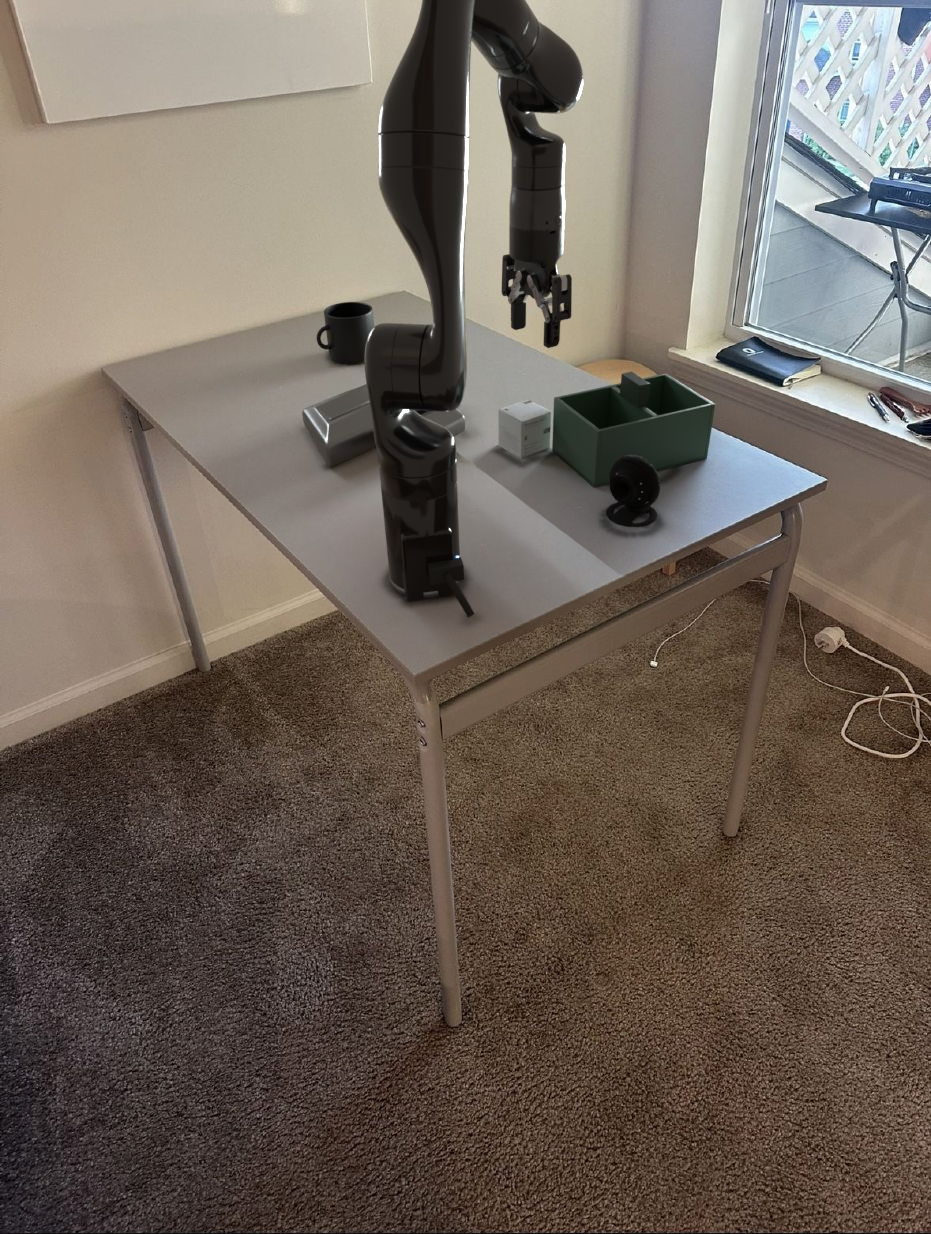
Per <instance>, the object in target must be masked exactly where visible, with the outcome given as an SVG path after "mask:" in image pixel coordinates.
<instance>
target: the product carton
mask: <svg viewBox="0 0 931 1234" xmlns="http://www.w3.org/2000/svg"><path fill="white" fill-rule="evenodd" d="M497 412H498V415H497V417H498V420H497V421H498V424H497V425H498V427H497V428H498V430H497V431H498V436H497V438H498V439H497V440H498V445H497V446H499V447H500V448H502V449H504V450H506V451H507V452H509V453H511V454H512V455H514V456H516V457H518V458H520V459H523V458H526V457H528V456H531V455H533V454H537V453H539V452H542V451H545V450H547V449H551V425H552V424H551V423H552V411H551V410H550V409H547V407H544V406H542V405H540V404H538V403H536V402H534V401H531V400H530V399H526V400H523V401H519V402H516V403H512V404H510V405H507V406H505V407H502V408H498V411H497Z"/></svg>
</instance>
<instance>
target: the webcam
mask: <svg viewBox="0 0 931 1234" xmlns="http://www.w3.org/2000/svg"><path fill="white" fill-rule="evenodd" d="M609 491H610V494H611V497H613V499H614V500H615V501H616V502H614V503H612V504H610V505H609V506H608V507H607V508H606V509H605V515H606V517H607V519H608V520H609V521H611V522H612V523H613V524H615V525H618V526H622V527H626V528H643V527H647V526H650V525H652V524H653V523H655V521H656V520H657V518H658V512H657V510H656V509H655V508H654V507H653V506H652V505H654V503H655V502H656V501H657V500H658V498H659V496H660V491H661V482H660V476H659V474H658V471H656V470H655V468H654V466H653V465H652V464H650V463H649V462H648V461H647V460H646V459H644V458H643V457H641V456H637V455H625V456H622V457H620V458H619V459H618V460H617V461H616V462H615V463H614V464H613V466H612V468H611V471H610V484H609ZM621 506H622V507H621ZM619 507H620V508H619ZM617 508H618V510H616V509H617ZM615 510H616V511H615ZM614 511H615V512H614ZM645 513H646V514H649V516H648V518H647V519H646V520H644V521H641V522H634V520H635V519H636V518H638V517H639V516H641V515H643V514H645Z"/></svg>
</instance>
